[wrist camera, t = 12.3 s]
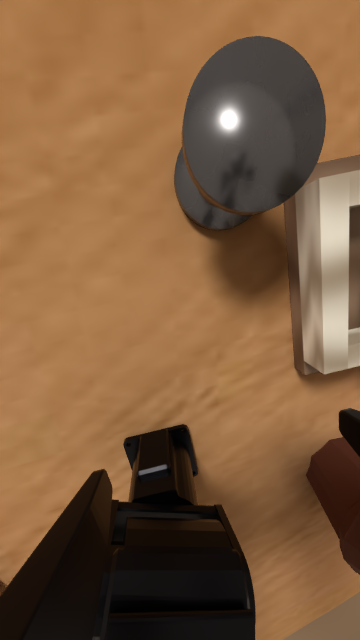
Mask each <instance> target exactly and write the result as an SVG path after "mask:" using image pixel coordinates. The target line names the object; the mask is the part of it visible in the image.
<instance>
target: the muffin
mask: <svg viewBox="0 0 360 640" xmlns="http://www.w3.org/2000/svg"><path fill="white" fill-rule="evenodd" d="M306 476H307V478H308V480H309V482H310V483H311V485H312V487H313V489H314V491H315V493H316V495H317V497H318V499H319V501H320V503H321V505H322V507H323V509H324V511H325V513H326V514H327V516H328V518H329V520H330V522H331V524H332V526H333V528H334V530H335V532H336V534H337V536H338V538H339V539H340V548H341V551H342V555H343V558H344V560H345V561H346V562H347V563H348V564H349V565H350V566H351V568H352V569H353V570H354V571H355V572H356V573H358V574H360V458H359V456H358V455H357V454H356V452H355V451H354V450H353V449H352V447H351V446H350V445H349V443H348V442H347V441H346V440H345V438H344V437H342V438H337V439H332V440H329V441H328V442H327V443H326V444H325V445H324V446H323V447H322V448H321V449H320V450H319V451H318V452H316V453H315V454H314V455H312V457H311V462H310V467H309V469H308V471H307V474H306Z"/></svg>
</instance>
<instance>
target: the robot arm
mask: <svg viewBox="0 0 360 640" xmlns="http://www.w3.org/2000/svg"><path fill="white" fill-rule="evenodd" d="M182 429H184V430H183V431H181V430H182ZM339 430H340V432H341V434H342V436H343V437H344V438H345V440H346V441H347V442H348V443H349V445H350V446H351V447H352V449H353V450H354V451H355V452H356V454H357V455H358V456H359V458H360V411H357V410H355V409H351V408H348V409H344V410H341V411H340V412H339ZM128 443H130V444H128ZM124 448H125V451H126V454H127V457H128V460H129V463H130V466H131V469H132V478H131V486H130V494H129V501H128V502H119V500H112V485H111V482H110V479H109V477H108V474H107V472H106V470H105V469H101V470H97V471H94V472H93V473H92V474H91V475H90V476H89V478H88V479H87V480H86V482H85V483H84V484H83V486H82V487H81V488H80V490H79V491H78V493H77V494H76V495H75V497H74V498H73V499H72V501H71V502H70V503H69V505H68V506H67V507H66V509H65V510H64V511H63V513H62V514H61V515H60V517H59V518H58V519H57V521H56V522H55V523H54V525H53V526H52V527H51V529H50V530H49V531H48V533H47V534H46V535H45V537H44V538H43V539H42V541H41V542H40V543H39V545H38V546H37V547H36V549H35V550H34V551H33V553H32V554H31V555H30V557H29V558H28V559H27V561H26V562H25V563H24V565H23V566H22V567H21V569H20V570H19V571H18V573H17V574H16V575H15V577H14V578H13V580H12V581H11V582H10V584H9V585H8V586H7V588H6V589H5V590H4V592H3V593H2V594H1V596H0V640H255V600H254V592H253V585H252V580H251V576H250V571H249V568H248V564H247V561H246V559H245V556H244V553H243V551H242V549H241V547H240V545H239V542H238V540H237V538H236V536H235V534H234V531H233V529H232V527H231V525H230V523H229V520H228V518H227V516H226V514H225V512H224V509H223V507H222V505H214V506H205V505H197V499H196V492H195V486H194V480H193V477H194V476H196V475H197V474H198V470H197V466H196V461H195V457H194V453H193V449H192V445H191V440H190V436H189V432H188V428H187V426H186V425H184V424H182V425H178V426H174V427H170V428H165V429H161V430H157V431H153V432H149V433H145V434H141V435H136V436H132V437H128V438H126V439H125V440H124Z"/></svg>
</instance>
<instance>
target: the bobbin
mask: <svg viewBox="0 0 360 640" xmlns="http://www.w3.org/2000/svg"><path fill="white" fill-rule="evenodd" d="M325 125H326V115H325V104H324V99H323V94H322V91H321V88H320V85H319V82H318V80H317V78H316V75H315V73H314V72H313V70H312V68H311V67H310V65H309V64H308V63H307V61H306V60H305V59H304V58H303V57H302V56H301V55H300V54H299V53H298V52H297V51H296V50H295V49H293V48H292V47H291V46H289V45H288V44H286V43H284V42H282V41H279V40H277V39H273V38H270V37H262V36H254V37H246V38H242V39H238V40H236V41H234V42H232V43H229V44H227V45H226V46H224V47H223V48H221V49H220V50H218V51H217V52H216V53H215V54H214V55H213V56H212V57H211V58H210V59H209V60H208V61H207V62H206V64H205V65H204V66H203V67H202V69H201V70H200V72H199V74H198V75H197V77H196V79H195V81H194V83H193V85H192V87H191V90H190V93H189V96H188V99H187V103H186V108H185V113H184V119H183V127H182V148H181V150H180V152H179V155H178V158H177V162H176V167H175V174H174V185H175V192H176V196H177V199H178V201H179V204H180V206H181V208H182V209H183V211H184V212H185V214H186V215H187V216H188V217H189V218H190V219H191V220H192V221H193V222H195V223H196V224H198V225H199V226H201V227H204V228H207V229H210V230H226V229H230V228H233V227H235V226H237V225H239V224H241V223H243V222H244V221H246V220H247V219H248V218H250V217H251V216H252V215H253V214H258V213H262V212H265V211H267V210H270V209H272V208H274V207H276V206H278V205H280V204H282V203H283V202H285V201H287V200H288V199H289V198H291V197H292V196H293V195H294V194H295V193H296V192H297V191H298V190H299V189H300V188H301V187H302V186H303V185H304V184H305V182H306V181H307V180H308V178H309V177H310V175H311V173H312V172H313V170H314V168H315V166H316V164H317V161H318V159H319V156H320V153H321V150H322V146H323V142H324V136H325Z"/></svg>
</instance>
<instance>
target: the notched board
mask: <svg viewBox="0 0 360 640" xmlns="http://www.w3.org/2000/svg"><path fill="white" fill-rule="evenodd" d="M284 210H285V226H286V241H287V256H288V271H289V286H290V302H291V317H292V332H293V347H294V362H295V368H296V369H297V370H299V371H300V372H301V373H303V374H304V375H307V374H311V373H316V372H321V373H323V374H328V373H332V372H336V371H340V370H345V369H349V368H353V367H357V366H360V155H356V156H351V157H346V158H341V159H336V160H331V161H326V162H321V163H317V164H316V166H315V168H314V170H313V172H312V173H311V175H310V177H309V178H308V180H307V181H306V182H305V184H304V185H303V186H302V187H301V188H300V189H299V190H298V191H297V192H296V193H295V194H294V195H293V196H292V197H291V198H289V199H288V200H287V201H285V202H284Z"/></svg>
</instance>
